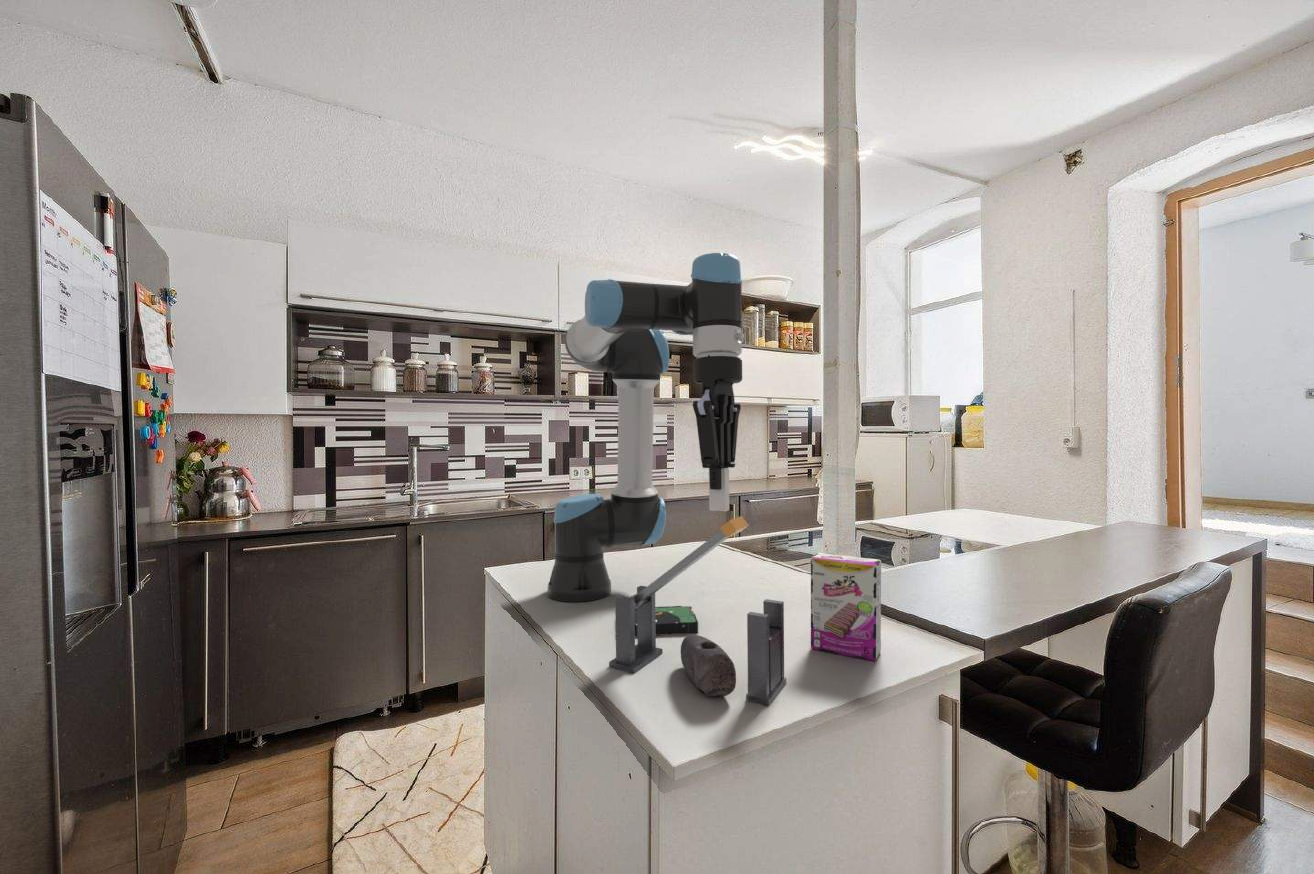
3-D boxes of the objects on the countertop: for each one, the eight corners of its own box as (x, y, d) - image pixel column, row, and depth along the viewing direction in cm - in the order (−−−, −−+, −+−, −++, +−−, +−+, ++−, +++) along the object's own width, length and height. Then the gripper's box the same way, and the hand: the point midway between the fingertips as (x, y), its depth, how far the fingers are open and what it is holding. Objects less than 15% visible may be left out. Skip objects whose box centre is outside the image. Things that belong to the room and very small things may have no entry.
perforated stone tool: (671, 665, 91) (671, 623, 91) (700, 661, 93) (700, 620, 93) (705, 709, 77) (704, 659, 77) (739, 703, 78) (739, 654, 78)
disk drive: (622, 640, 104) (699, 635, 105) (621, 625, 104) (699, 620, 105) (620, 621, 114) (691, 617, 116) (620, 607, 114) (690, 603, 116)
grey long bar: (642, 606, 95) (635, 595, 96) (749, 526, 85) (741, 514, 86) (627, 614, 91) (620, 602, 92) (737, 531, 81) (729, 519, 82)
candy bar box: (809, 650, 97) (809, 557, 97) (817, 640, 101) (816, 551, 101) (877, 663, 91) (876, 564, 91) (882, 652, 95) (881, 558, 95)
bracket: (638, 647, 98) (637, 584, 98) (662, 653, 96) (661, 587, 96) (609, 666, 91) (608, 597, 91) (634, 673, 88) (633, 601, 88)
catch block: (764, 678, 86) (764, 598, 86) (786, 683, 84) (785, 601, 84) (745, 700, 79) (745, 613, 79) (768, 705, 77) (768, 617, 77)
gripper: (722, 350, 77) (724, 517, 77) (755, 360, 88) (757, 506, 88) (675, 354, 81) (677, 514, 81) (713, 363, 92) (714, 504, 92)
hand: (719, 510), depth 85 cm, fingers closed
